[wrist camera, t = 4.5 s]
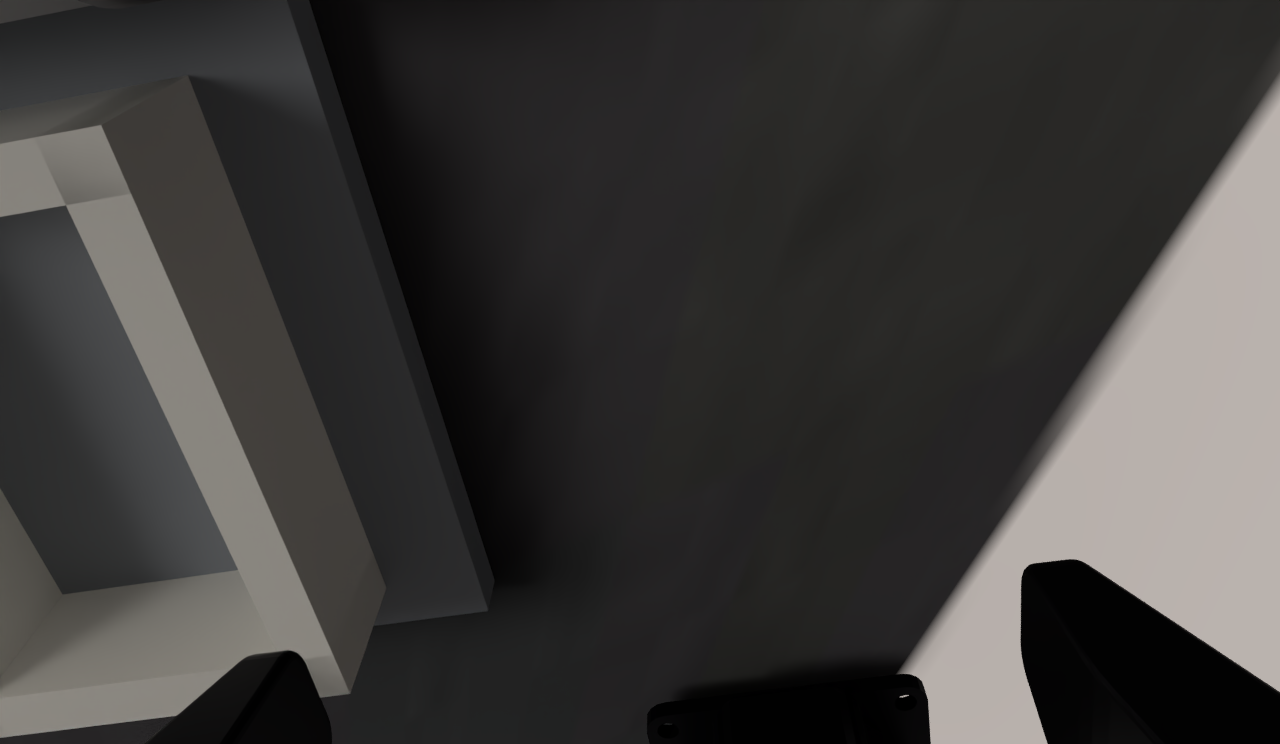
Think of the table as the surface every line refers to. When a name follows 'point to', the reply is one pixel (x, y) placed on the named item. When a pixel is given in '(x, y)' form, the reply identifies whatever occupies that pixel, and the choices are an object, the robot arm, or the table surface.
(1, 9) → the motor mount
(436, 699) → the table surface
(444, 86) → the table surface
